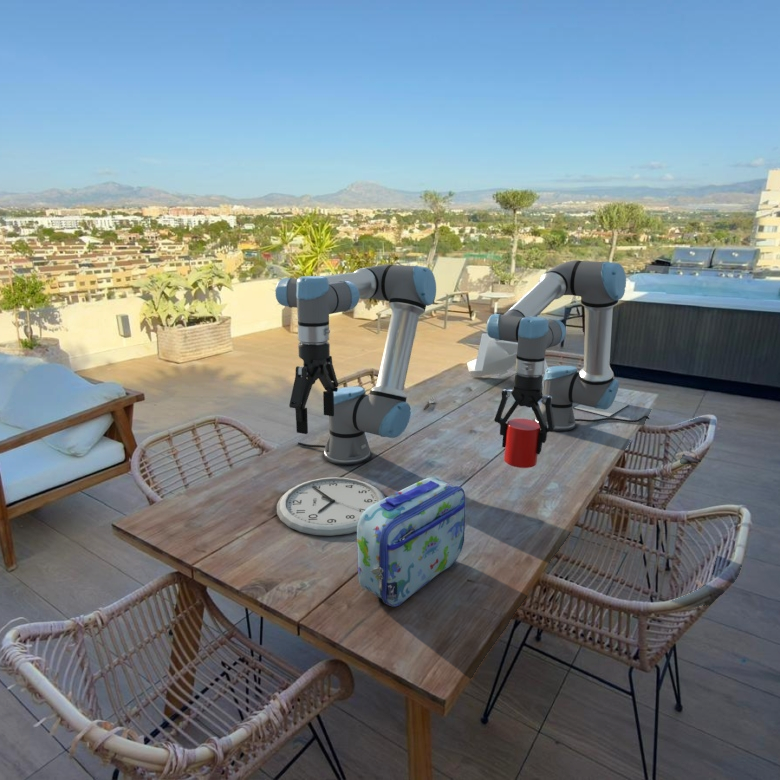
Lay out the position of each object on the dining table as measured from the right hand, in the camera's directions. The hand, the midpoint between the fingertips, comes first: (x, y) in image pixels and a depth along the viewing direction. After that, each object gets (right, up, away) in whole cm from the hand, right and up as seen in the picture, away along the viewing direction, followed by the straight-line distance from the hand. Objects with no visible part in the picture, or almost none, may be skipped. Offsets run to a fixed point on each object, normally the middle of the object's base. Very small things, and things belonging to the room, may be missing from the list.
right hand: (521, 448), depth 151 cm
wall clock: (-54, -15, -8) cm, 56 cm away
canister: (0, -4, +1) cm, 4 cm away
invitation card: (+54, +10, +76) cm, 93 cm away
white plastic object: (+19, +20, +107) cm, 111 cm away
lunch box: (-33, -24, -37) cm, 55 cm away
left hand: (-57, +8, -18) cm, 60 cm away
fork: (-21, +10, +73) cm, 77 cm away
